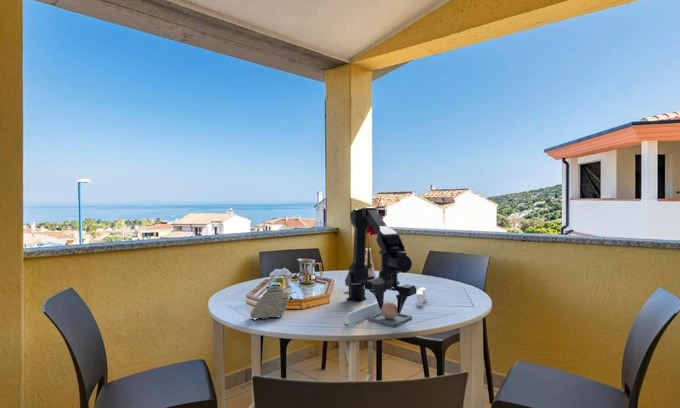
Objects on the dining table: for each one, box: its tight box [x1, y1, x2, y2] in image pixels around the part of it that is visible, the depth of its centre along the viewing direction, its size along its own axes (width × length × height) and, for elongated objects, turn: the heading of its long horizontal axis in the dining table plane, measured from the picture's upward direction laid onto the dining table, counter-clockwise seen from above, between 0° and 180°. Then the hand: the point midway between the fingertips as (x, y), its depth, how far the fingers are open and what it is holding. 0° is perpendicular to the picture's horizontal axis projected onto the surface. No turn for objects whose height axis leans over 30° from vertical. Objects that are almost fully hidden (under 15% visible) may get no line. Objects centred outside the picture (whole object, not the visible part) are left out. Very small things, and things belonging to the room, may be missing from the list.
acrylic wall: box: [344, 299, 386, 327], centre depth 130 cm, size 3×22×4 cm, turn 140°
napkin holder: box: [416, 287, 426, 307], centre depth 149 cm, size 15×11×6 cm
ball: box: [381, 301, 398, 319], centre depth 127 cm, size 6×6×6 cm
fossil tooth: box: [250, 285, 290, 319], centre depth 132 cm, size 12×6×15 cm
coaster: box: [367, 312, 413, 328], centre depth 127 cm, size 11×11×1 cm
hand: (389, 311), depth 127 cm, fingers open, 7 cm apart
